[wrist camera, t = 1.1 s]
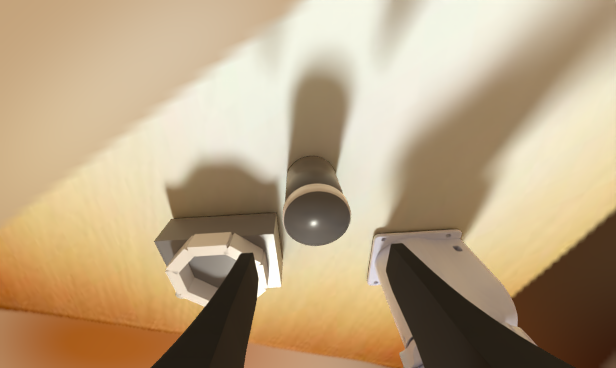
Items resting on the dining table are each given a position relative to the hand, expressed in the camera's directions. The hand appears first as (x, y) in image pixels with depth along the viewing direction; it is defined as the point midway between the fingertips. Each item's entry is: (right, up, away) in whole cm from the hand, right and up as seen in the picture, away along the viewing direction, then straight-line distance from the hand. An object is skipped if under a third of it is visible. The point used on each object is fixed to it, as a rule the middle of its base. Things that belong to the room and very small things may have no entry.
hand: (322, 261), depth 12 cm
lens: (-1, +5, +8) cm, 9 cm away
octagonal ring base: (-9, -2, +11) cm, 14 cm away
